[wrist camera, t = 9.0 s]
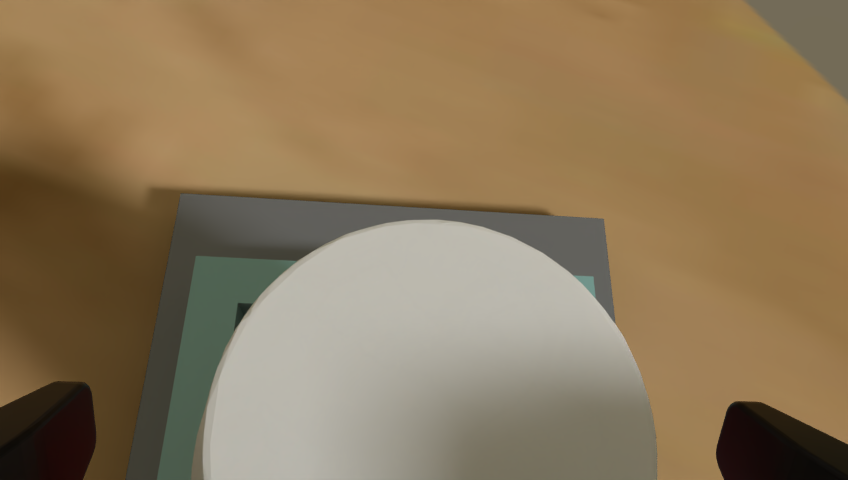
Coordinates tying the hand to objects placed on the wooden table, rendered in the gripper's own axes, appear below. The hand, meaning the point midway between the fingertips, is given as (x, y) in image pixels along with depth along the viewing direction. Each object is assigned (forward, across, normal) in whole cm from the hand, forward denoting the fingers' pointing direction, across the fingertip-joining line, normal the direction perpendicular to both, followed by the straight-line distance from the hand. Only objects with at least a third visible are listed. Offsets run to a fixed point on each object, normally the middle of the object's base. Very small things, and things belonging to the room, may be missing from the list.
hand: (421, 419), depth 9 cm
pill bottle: (+6, 0, +6) cm, 9 cm away
